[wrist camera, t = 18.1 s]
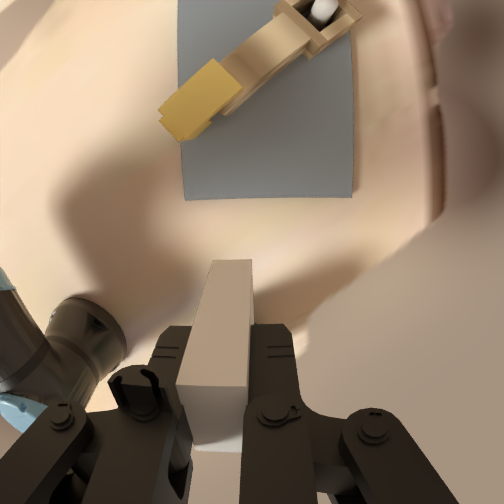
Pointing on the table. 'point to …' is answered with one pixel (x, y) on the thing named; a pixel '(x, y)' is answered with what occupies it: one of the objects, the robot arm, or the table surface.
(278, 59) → the link
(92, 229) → the table surface
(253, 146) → the deck
